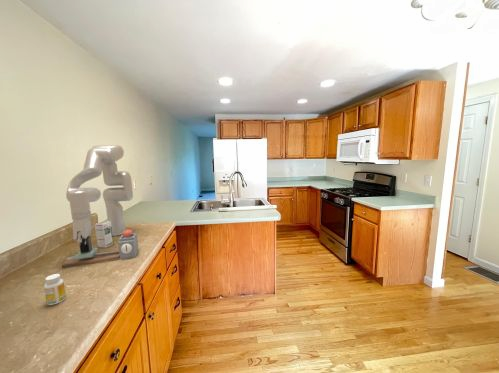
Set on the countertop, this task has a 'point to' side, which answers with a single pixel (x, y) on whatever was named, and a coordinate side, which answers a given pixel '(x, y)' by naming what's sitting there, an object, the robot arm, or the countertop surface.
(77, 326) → the countertop surface
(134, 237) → the cabinet
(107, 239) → the syrup box
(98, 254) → the rail bed
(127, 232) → the button
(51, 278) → the supplement bottle
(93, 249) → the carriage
